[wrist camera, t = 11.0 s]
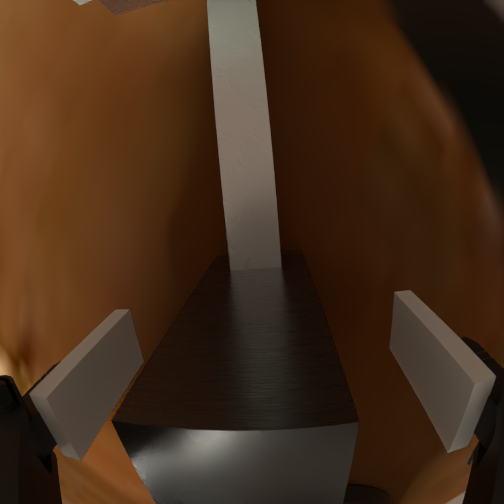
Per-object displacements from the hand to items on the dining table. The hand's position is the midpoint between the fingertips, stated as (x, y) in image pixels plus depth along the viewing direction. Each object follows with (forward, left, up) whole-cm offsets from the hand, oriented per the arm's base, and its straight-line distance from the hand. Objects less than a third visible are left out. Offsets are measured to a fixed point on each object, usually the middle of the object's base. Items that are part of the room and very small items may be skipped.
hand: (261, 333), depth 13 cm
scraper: (+8, 0, -3) cm, 8 cm away
